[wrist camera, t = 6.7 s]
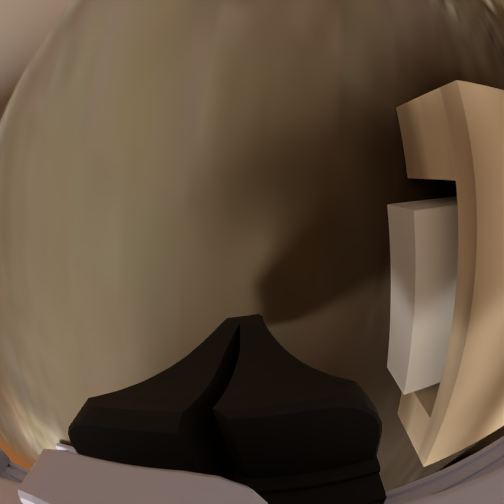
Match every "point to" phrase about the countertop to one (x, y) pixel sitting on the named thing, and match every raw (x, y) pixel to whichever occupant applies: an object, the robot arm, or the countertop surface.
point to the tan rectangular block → (463, 264)
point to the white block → (421, 289)
